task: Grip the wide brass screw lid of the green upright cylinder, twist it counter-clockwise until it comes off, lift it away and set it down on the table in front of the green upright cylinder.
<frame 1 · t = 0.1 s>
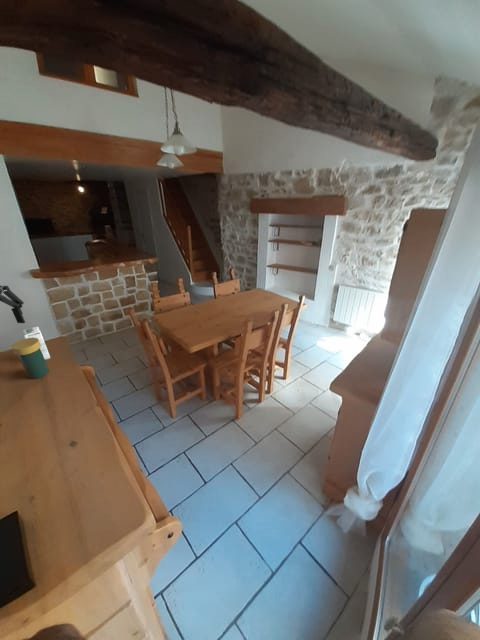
hand: (7, 330, 99), 19 cm above the counter, tool pointing down, fingers open, 13 cm apart
lid: (25, 344, 98), point 14 cm above the counter, screwed on, not yet turned
syrup box: (42, 358, 115), on the counter
green upright cylinder: (39, 373, 105), on the counter
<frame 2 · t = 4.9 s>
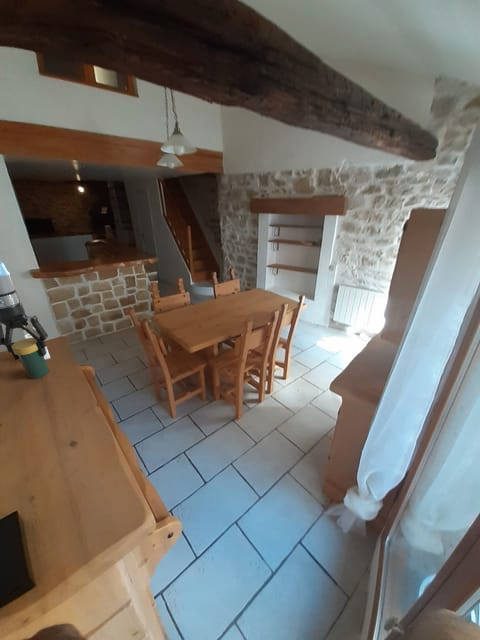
hand: (31, 356, 101), 9 cm above the counter, tool pointing down, fingers closed on lid, 8 cm apart
lid: (25, 344, 98), point 14 cm above the counter, screwed on, not yet turned, touching gripper
everything else where it was.
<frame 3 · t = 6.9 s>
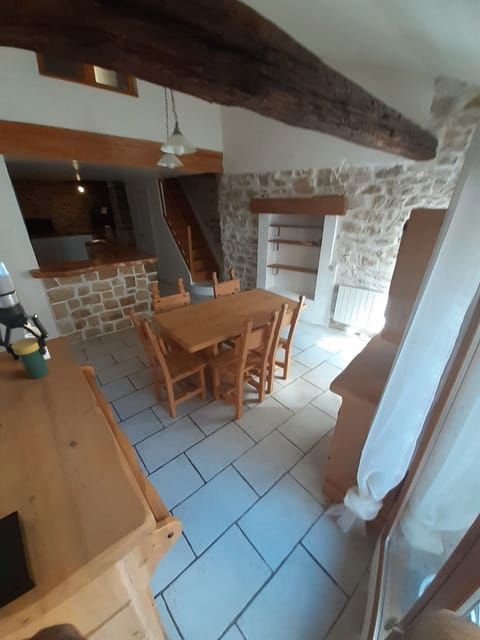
hand: (31, 356, 101), 9 cm above the counter, tool pointing down, fingers closed on lid, 8 cm apart
lid: (25, 343, 98), point 15 cm above the counter, off its thread, touching gripper
everything else where it was.
when the fingers open (0 cm above the counter, at t = 18.1 s): lid drops 2 cm, point 2 cm above the counter.
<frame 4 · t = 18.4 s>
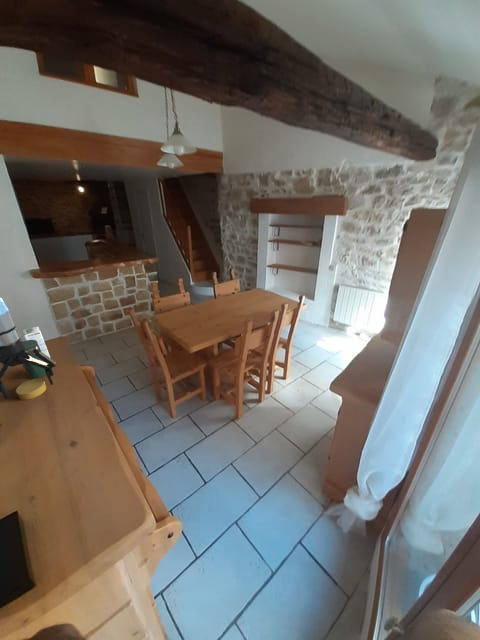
hand: (30, 389, 95), 1 cm above the counter, tool pointing down, fingers open, 13 cm apart
lid: (30, 387, 94), point 2 cm above the counter, off its thread
everything else where it was.
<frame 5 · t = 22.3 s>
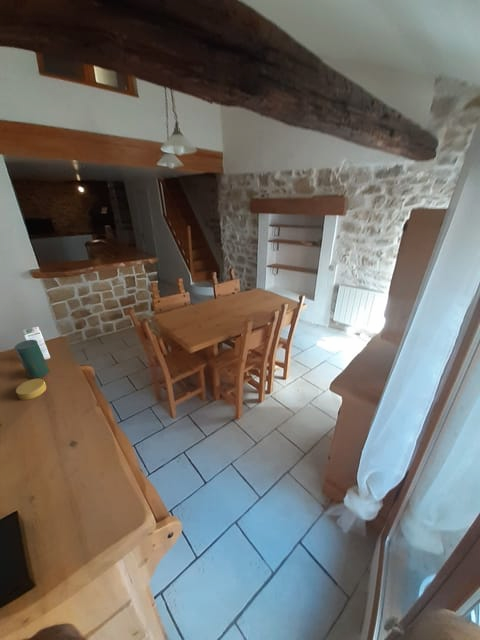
nothing on the counter moved.
at the end: lid inside the target area (0.4 cm from its centre), point 2.3 cm above the counter; the gripper is holding nothing; green upright cylinder 0.0 cm from the target spot, on the counter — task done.
